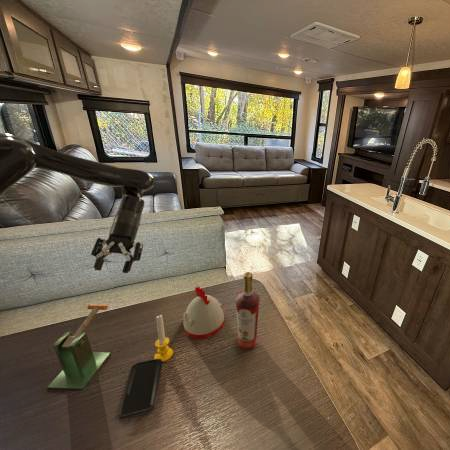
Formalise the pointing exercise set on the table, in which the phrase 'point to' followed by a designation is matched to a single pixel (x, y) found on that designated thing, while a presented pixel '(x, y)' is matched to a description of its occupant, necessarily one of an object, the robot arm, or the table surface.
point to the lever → (84, 324)
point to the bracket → (76, 363)
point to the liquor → (247, 314)
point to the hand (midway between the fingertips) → (111, 271)
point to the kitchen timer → (203, 316)
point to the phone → (141, 389)
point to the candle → (162, 342)
